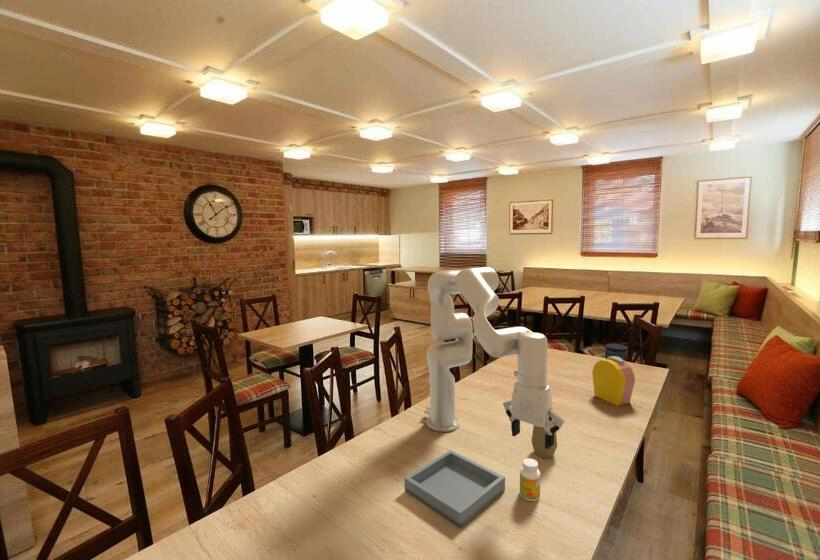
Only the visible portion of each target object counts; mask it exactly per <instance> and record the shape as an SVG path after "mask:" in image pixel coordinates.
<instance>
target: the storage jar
mask: <svg viewBox="0 0 820 560" xmlns="http://www.w3.org/2000/svg"><path fill="white" fill-rule="evenodd" d="M604 355H605V359H607V357H611V356H616V357H620V358H621V359H623V360H624V361H626V362H627V359H628V346H627V345H624V344H621V343H613V342H611V343H606V344H605V354H604Z"/></svg>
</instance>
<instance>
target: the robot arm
mask: <svg viewBox="0 0 820 560" xmlns="http://www.w3.org/2000/svg"><path fill="white" fill-rule="evenodd" d="M499 285H500V278H499V275H498V273H497V272H496V270H495V269H493V268H492V267H488V266H482V267H481V266H479V267H467V268H464V269H449V270H441V271H436V272H434V273H432V274H431V275H430V276H429V278H428V281H427V293H428V297H429V300H430V301H429V302H430V332H431V337H432V338H433V339H434V340H436V341H445V342H440V343H435V344H432V345H430V347H428V349H427V351H426V360H427V365H428V372H429V373H428V374H429V405H430V406H428V405H427V406H426V407H425V409H424V411H423V412H424V414H426V415H427V416H428V417H427V419H426V421H425V423H426V427H427V428H428V429H430V430H432V431H435V432H440V433H446V432H452V431H455V430H456V429H458V428H459V427H460V420H459V418H458V417H456V379H455V376H454V374H452V372H451V371H450V369H451V368H454V367H460V366H465V365H468V364H469V363H470V362H471V361H472V357H473V341H474V340H473V337H474V336H475V337H476V339H477V341H478V342H479V343H480V346H481V347H482V348H483V350H484V351H485V352H486V353H487V354H488V355H489V356H491V357H493V358H502V357H507V356H513V355H517V370H515V371H514V372H513V376H515V377H516V378H517V379H516V381H515V382H514V383H513V387H512V388H513V389H512V395H511V399H510V400H506V401H504V402H503V403H502V405H503V407H504V408H503V409H504V410H505V414H506V416H508V418H509V421H510V423H511V424H510V425H511V426H510V427H511V428H510V429H511V436H512V437H516V436H517V435H518V434H520V433H521V422H524V423H527V424H530V425H533V426H534V425H535V426H539V427H543V428H544V429H545V431H546V432H547V433H546V434H545V448H546V449H549V448H550V447H551V446H553V445H554V433H555V432H556V433H557V432H558V431H560V429H561V428H562V427H563V426H564V424H565V419H564V418H562V417H561V416H560V415H559V414H557V413H556V412H555V411H554V410H553V409H554V408H553V398H552V392H551V388H550V385H548V338H547V336H546V335H544V333H540V332H533V331H532V330H531V329H528V328H527V327H525V326H512V327H506V328H505V327H504V328H499V329H495V328H494V327H493V326H492V324H491V323H490V322H489V321H488V317H489V316H491V315H492V314H493V313H494V312H495V311H496V310H497V309H498V307H499V305H500V298H499V296H498V295H497V294H496V293H495V291H496V289H498V287H499ZM458 294H462V296H463V297H464V299H465V300H466V302H467V303H468V304H469V306H470V307H471V309H472V310H473V312H474V314H473V319H471V318H470V316H469V315H468V314H467V313H465V312H455V303H454V300H453V298H452V296H451V295H458ZM473 335H474V336H473ZM454 339H455V340H454ZM448 340H451V341H448ZM552 419H553V420H555V421H556V425H555V426H554V425H553V423H552V422H551V421H552Z"/></svg>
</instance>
